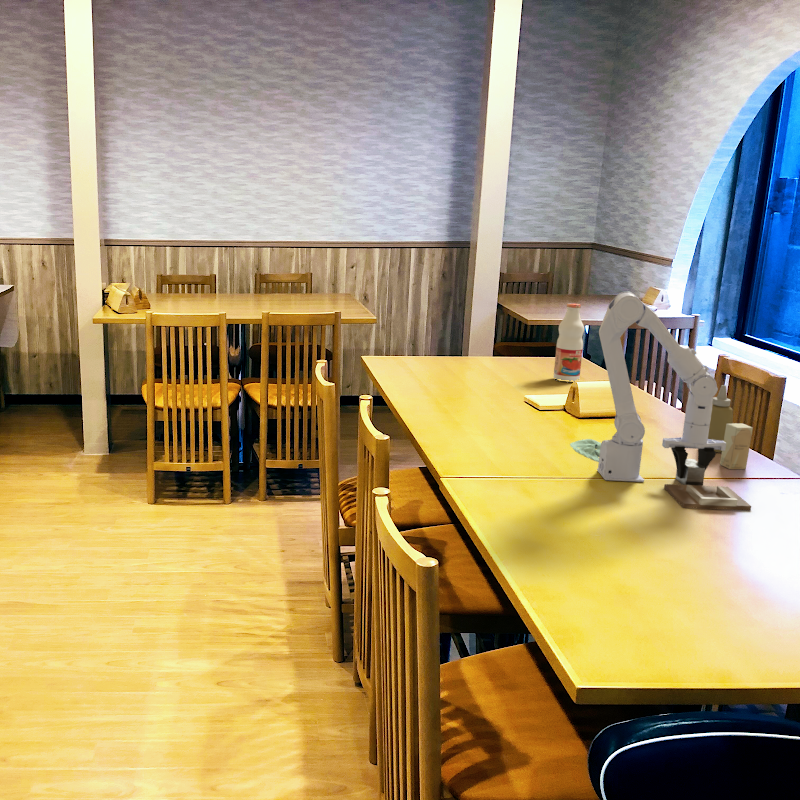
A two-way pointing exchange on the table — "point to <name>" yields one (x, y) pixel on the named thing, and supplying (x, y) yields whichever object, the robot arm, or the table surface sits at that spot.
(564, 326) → the fruit juice
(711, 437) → the squeeze bottle
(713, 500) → the holder
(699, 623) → the table surface
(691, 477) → the block
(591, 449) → the cloth
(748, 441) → the box
